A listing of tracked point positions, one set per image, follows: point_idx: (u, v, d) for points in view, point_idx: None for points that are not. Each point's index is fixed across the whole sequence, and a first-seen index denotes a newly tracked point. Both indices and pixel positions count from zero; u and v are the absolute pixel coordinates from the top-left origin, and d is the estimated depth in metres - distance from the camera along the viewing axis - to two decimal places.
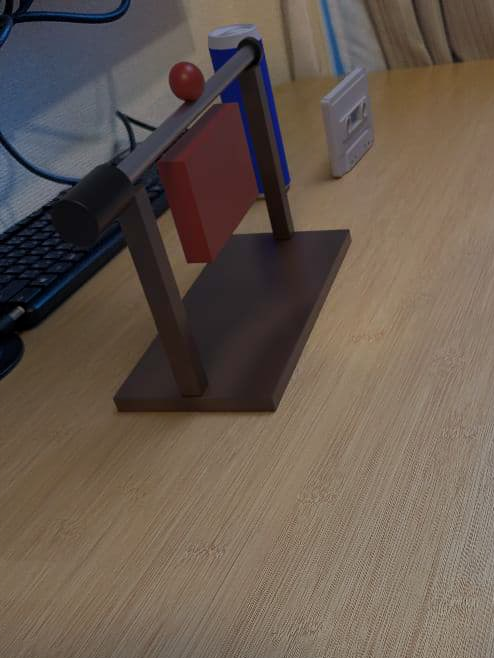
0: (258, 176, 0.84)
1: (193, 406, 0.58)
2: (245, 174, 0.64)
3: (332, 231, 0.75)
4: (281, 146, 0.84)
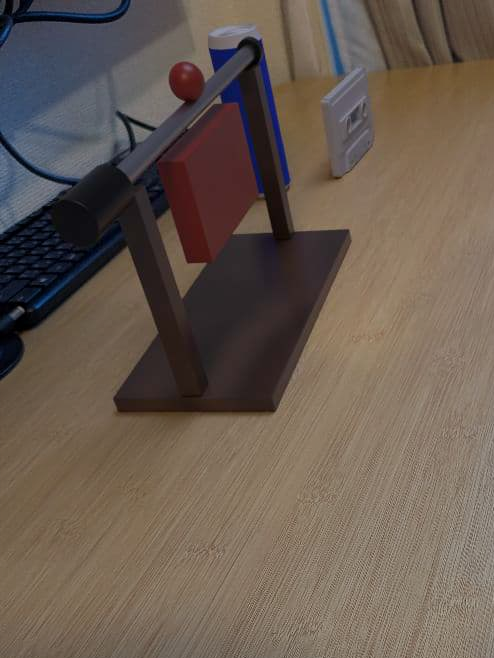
0: (258, 176, 0.84)
1: (193, 406, 0.58)
2: (245, 174, 0.64)
3: (332, 231, 0.75)
4: (281, 146, 0.84)
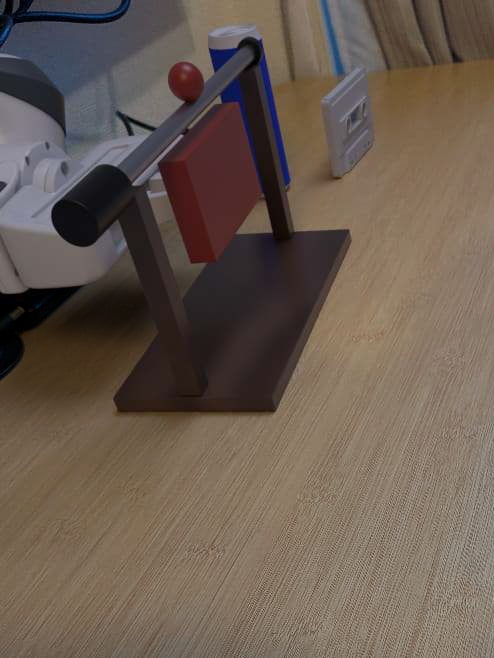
0: (258, 176, 0.84)
1: (193, 406, 0.58)
2: (247, 174, 0.64)
3: (332, 231, 0.75)
4: (281, 146, 0.84)
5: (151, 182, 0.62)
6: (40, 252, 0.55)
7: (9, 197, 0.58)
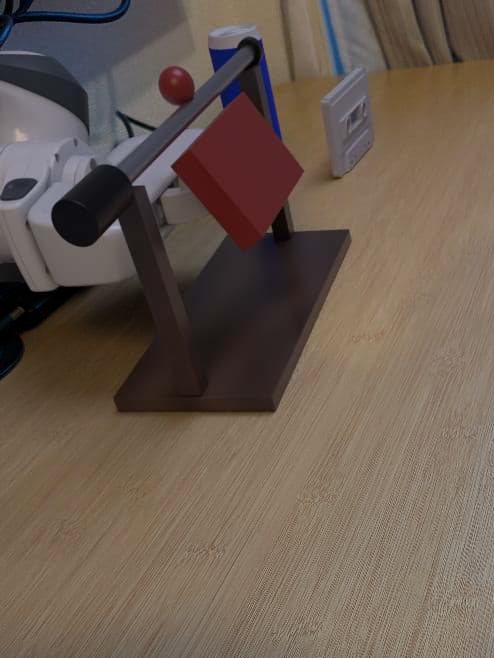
0: None
1: (193, 406, 0.58)
2: (278, 154, 0.62)
3: (332, 231, 0.75)
4: None
5: (180, 179, 0.62)
6: (73, 249, 0.55)
7: (40, 194, 0.57)
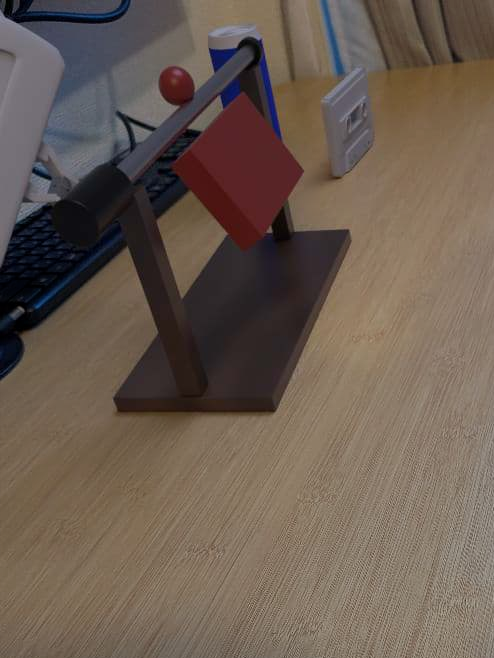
0: None
1: (193, 406, 0.58)
2: (278, 154, 0.62)
3: (332, 231, 0.75)
4: None
5: None
6: None
7: None
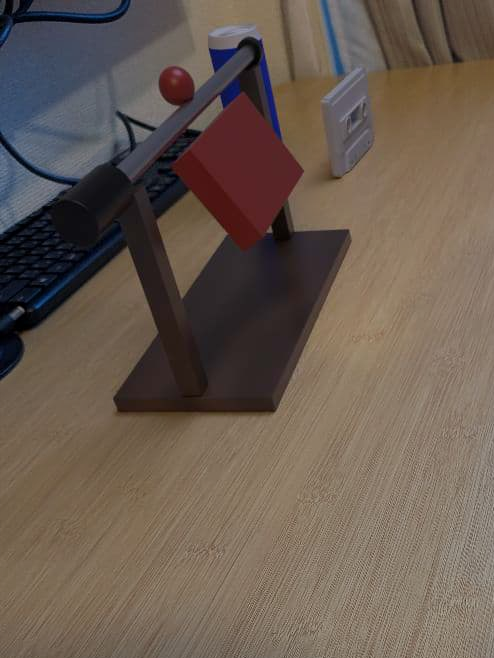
0: None
1: (193, 406, 0.58)
2: (278, 154, 0.62)
3: (332, 231, 0.75)
4: None
5: None
6: None
7: None
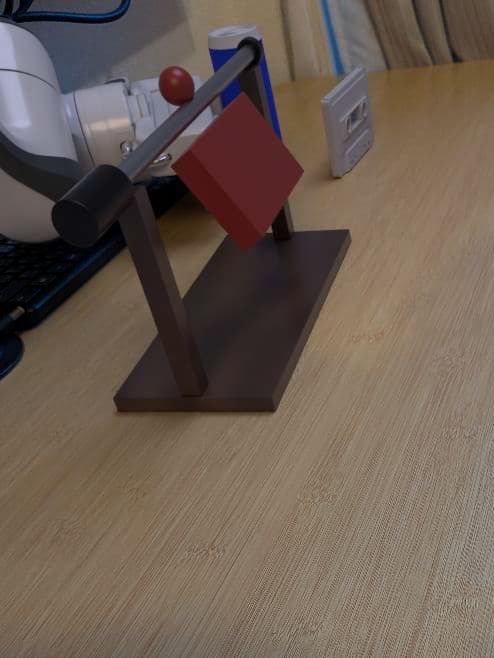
0: None
1: (193, 406, 0.58)
2: (278, 154, 0.62)
3: (332, 231, 0.75)
4: None
5: None
6: None
7: None
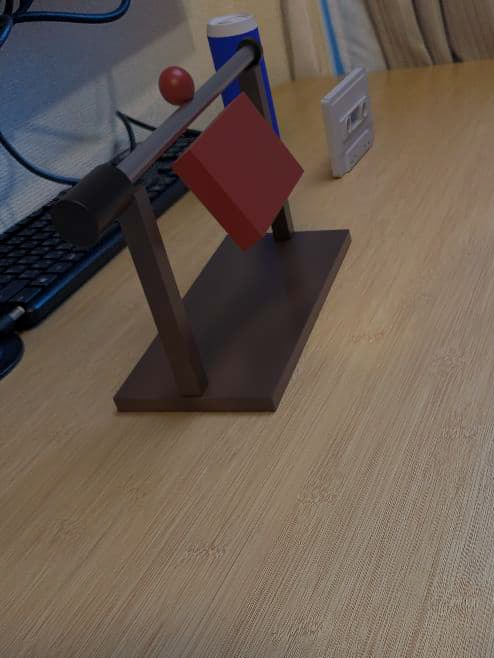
0: None
1: (193, 406, 0.58)
2: (278, 154, 0.62)
3: (332, 231, 0.75)
4: (277, 131, 0.88)
5: None
6: None
7: None
